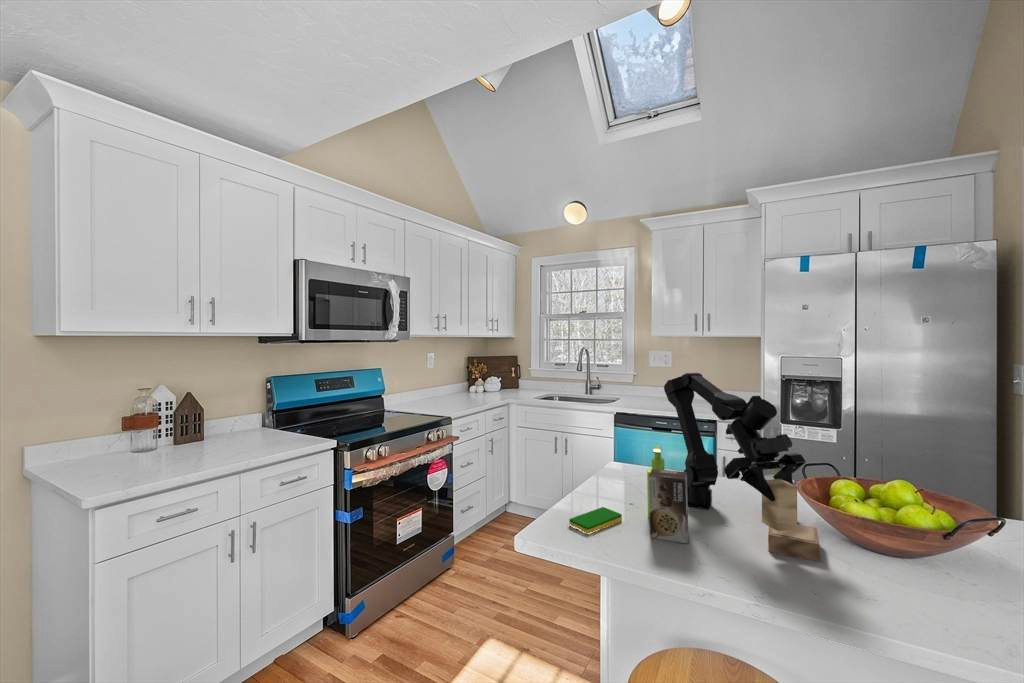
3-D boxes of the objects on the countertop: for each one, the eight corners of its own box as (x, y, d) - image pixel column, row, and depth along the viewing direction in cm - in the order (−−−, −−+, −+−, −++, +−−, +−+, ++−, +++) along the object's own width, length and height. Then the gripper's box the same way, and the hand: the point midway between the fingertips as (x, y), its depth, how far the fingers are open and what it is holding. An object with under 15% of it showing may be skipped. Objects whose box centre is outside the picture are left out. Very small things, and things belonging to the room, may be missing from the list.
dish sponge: (622, 522, 124) (622, 514, 124) (587, 536, 115) (587, 527, 115) (603, 514, 129) (603, 506, 129) (568, 527, 121) (568, 518, 121)
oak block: (761, 522, 106) (761, 480, 106) (780, 520, 107) (780, 478, 106) (778, 531, 101) (778, 487, 101) (797, 529, 102) (797, 485, 102)
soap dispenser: (646, 521, 123) (645, 449, 123) (648, 512, 130) (647, 443, 129) (668, 524, 121) (668, 451, 121) (670, 514, 127) (669, 445, 127)
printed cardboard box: (689, 533, 115) (688, 471, 115) (687, 544, 109) (686, 479, 109) (652, 528, 119) (651, 467, 119) (648, 538, 113) (648, 474, 113)
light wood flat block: (768, 551, 105) (768, 533, 105) (769, 534, 114) (769, 518, 114) (819, 561, 100) (819, 543, 100) (816, 543, 108) (816, 526, 108)
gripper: (732, 424, 105) (767, 486, 95) (799, 420, 109) (840, 480, 98) (711, 449, 113) (741, 509, 103) (775, 444, 117) (810, 501, 106)
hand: (783, 499), depth 102 cm, fingers closed on oak block, 5 cm apart
